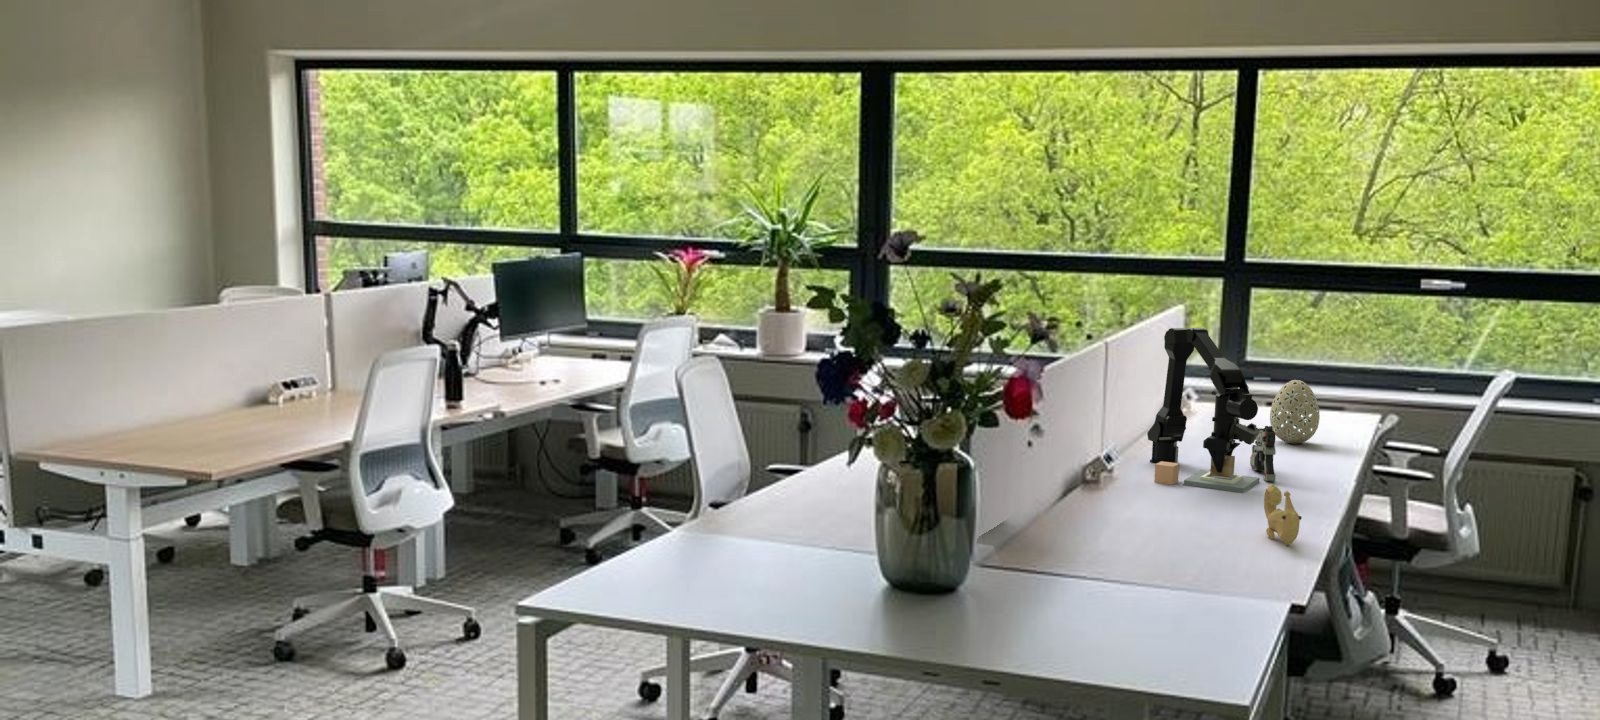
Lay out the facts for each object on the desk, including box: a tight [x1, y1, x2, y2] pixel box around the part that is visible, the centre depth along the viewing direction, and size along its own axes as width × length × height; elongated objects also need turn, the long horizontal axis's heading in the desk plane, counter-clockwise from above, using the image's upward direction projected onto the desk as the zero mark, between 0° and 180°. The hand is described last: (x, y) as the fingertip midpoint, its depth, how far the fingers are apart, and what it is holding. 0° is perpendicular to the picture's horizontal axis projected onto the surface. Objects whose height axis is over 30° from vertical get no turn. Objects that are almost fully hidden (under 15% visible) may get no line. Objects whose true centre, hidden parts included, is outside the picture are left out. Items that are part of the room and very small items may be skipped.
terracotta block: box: [1154, 461, 1180, 486], centre depth 389 cm, size 5×5×5 cm
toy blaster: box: [1249, 425, 1277, 482], centre depth 400 cm, size 4×21×15 cm, turn 174°
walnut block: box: [1209, 455, 1236, 477], centre depth 387 cm, size 5×5×5 cm
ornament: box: [1269, 379, 1321, 445], centre depth 447 cm, size 15×15×20 cm
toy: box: [1263, 483, 1302, 546], centre depth 328 cm, size 5×12×20 cm
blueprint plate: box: [1183, 469, 1260, 493], centre depth 388 cm, size 16×16×2 cm
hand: (1222, 470), depth 388 cm, fingers open, 5 cm apart
